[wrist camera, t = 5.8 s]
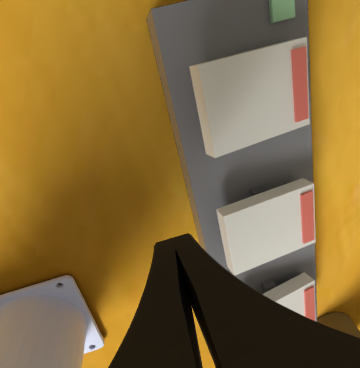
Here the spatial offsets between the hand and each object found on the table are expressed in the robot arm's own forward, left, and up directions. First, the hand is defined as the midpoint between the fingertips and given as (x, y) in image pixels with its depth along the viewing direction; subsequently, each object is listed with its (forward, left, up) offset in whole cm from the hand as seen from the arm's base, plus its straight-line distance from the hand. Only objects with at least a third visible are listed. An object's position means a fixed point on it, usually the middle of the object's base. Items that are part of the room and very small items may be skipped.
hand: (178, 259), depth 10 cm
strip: (+6, -4, -10) cm, 12 cm away
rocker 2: (+6, -4, -6) cm, 9 cm away
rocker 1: (+6, +4, -6) cm, 9 cm away
